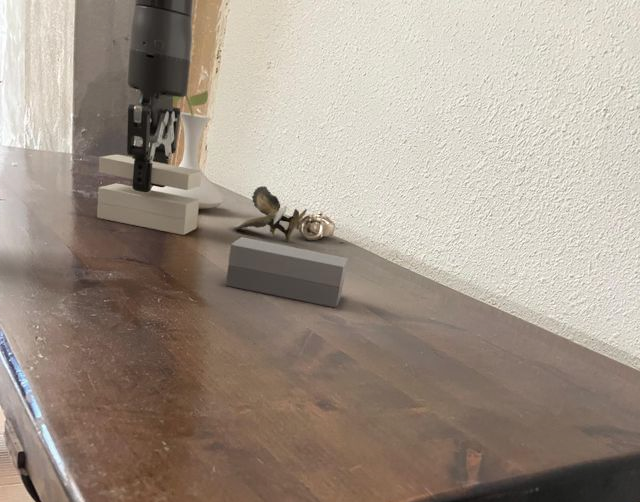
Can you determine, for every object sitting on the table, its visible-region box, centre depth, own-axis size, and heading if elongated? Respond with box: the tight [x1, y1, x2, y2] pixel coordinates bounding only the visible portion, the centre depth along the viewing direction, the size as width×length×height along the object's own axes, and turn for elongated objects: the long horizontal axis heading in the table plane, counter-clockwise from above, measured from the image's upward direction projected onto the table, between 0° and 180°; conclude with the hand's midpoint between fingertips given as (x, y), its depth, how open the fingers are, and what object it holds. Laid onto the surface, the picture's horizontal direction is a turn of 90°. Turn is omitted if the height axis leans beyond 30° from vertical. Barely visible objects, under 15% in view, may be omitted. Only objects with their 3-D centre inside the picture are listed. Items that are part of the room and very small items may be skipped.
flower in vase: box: [150, 38, 223, 210], centre depth 115 cm, size 13×11×25 cm
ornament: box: [294, 211, 336, 241], centre depth 113 cm, size 8×7×4 cm
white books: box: [96, 182, 199, 236], centre depth 101 cm, size 12×6×4 cm, turn 83°
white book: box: [98, 154, 203, 190], centre depth 100 cm, size 12×6×2 cm, turn 83°
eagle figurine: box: [233, 185, 308, 243], centre depth 108 cm, size 8×7×9 cm
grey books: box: [225, 236, 349, 309], centre depth 80 cm, size 12×5×4 cm, turn 83°
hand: (149, 188), depth 100 cm, fingers closed on white book, 6 cm apart
